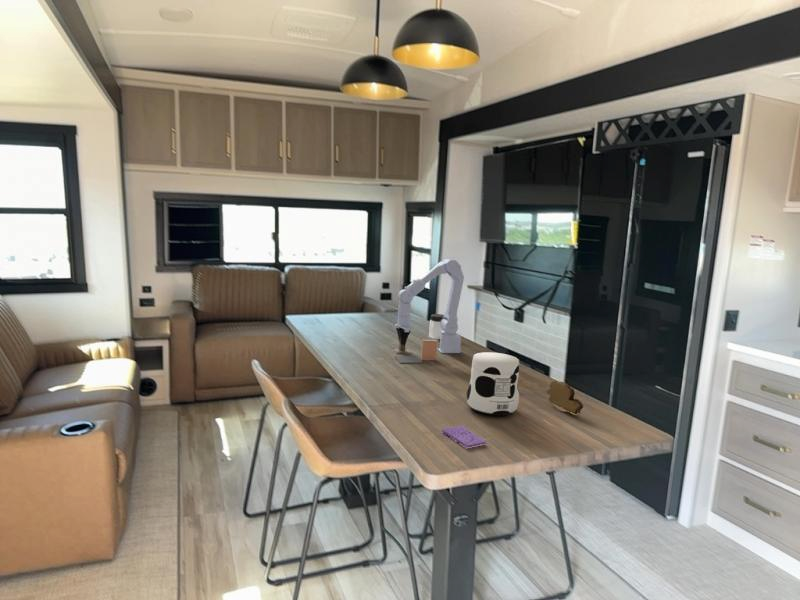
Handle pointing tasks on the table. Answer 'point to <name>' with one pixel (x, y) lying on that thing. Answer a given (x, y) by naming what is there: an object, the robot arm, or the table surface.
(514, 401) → the milk container
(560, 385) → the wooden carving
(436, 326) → the jar
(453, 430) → the sponges
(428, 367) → the table surface
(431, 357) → the tile
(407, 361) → the mat
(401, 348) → the turner
